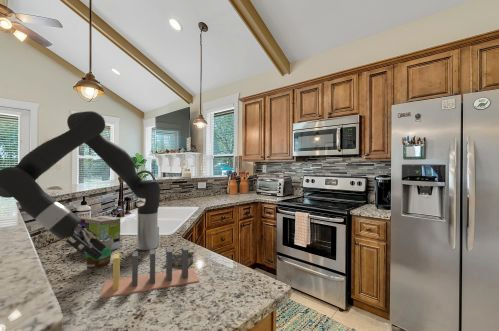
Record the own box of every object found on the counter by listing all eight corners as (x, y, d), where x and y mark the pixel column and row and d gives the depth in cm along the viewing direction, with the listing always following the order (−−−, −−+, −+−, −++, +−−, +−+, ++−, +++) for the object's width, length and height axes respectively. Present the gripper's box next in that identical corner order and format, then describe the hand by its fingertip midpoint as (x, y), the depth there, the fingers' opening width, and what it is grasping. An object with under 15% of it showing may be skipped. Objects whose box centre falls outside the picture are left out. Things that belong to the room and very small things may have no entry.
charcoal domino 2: (150, 284, 85) (150, 254, 85) (149, 278, 89) (150, 249, 90) (155, 283, 85) (155, 253, 86) (154, 277, 90) (154, 249, 90)
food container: (97, 271, 96) (97, 245, 96) (83, 270, 97) (84, 244, 97) (120, 260, 108) (120, 236, 108) (107, 258, 109) (108, 235, 109)
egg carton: (195, 261, 108) (195, 251, 108) (187, 268, 100) (187, 257, 101) (173, 258, 110) (173, 249, 110) (163, 265, 103) (163, 255, 103)
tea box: (120, 248, 124) (121, 217, 124) (99, 253, 116) (100, 221, 116) (104, 243, 132) (104, 214, 133) (83, 248, 124) (84, 217, 124)
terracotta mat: (99, 298, 76) (99, 297, 76) (105, 281, 87) (105, 280, 87) (199, 281, 88) (199, 280, 88) (193, 268, 99) (193, 267, 99)
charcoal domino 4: (183, 278, 89) (183, 250, 89) (181, 273, 94) (181, 246, 94) (188, 278, 90) (188, 249, 90) (186, 272, 94) (186, 245, 94)
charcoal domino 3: (167, 281, 87) (167, 252, 87) (166, 275, 92) (166, 248, 92) (172, 280, 88) (172, 251, 88) (170, 275, 92) (170, 247, 92)
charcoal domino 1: (132, 287, 83) (132, 256, 83) (132, 280, 87) (132, 251, 87) (137, 286, 83) (137, 255, 83) (137, 279, 88) (137, 251, 88)
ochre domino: (112, 290, 80) (113, 258, 81) (114, 283, 85) (114, 253, 85) (118, 289, 81) (118, 258, 81) (119, 282, 86) (119, 253, 86)
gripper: (63, 214, 72) (108, 250, 76) (75, 207, 85) (113, 238, 89) (39, 235, 70) (87, 270, 74) (55, 224, 83) (96, 255, 87)
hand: (101, 252), depth 82 cm, fingers open, 8 cm apart
